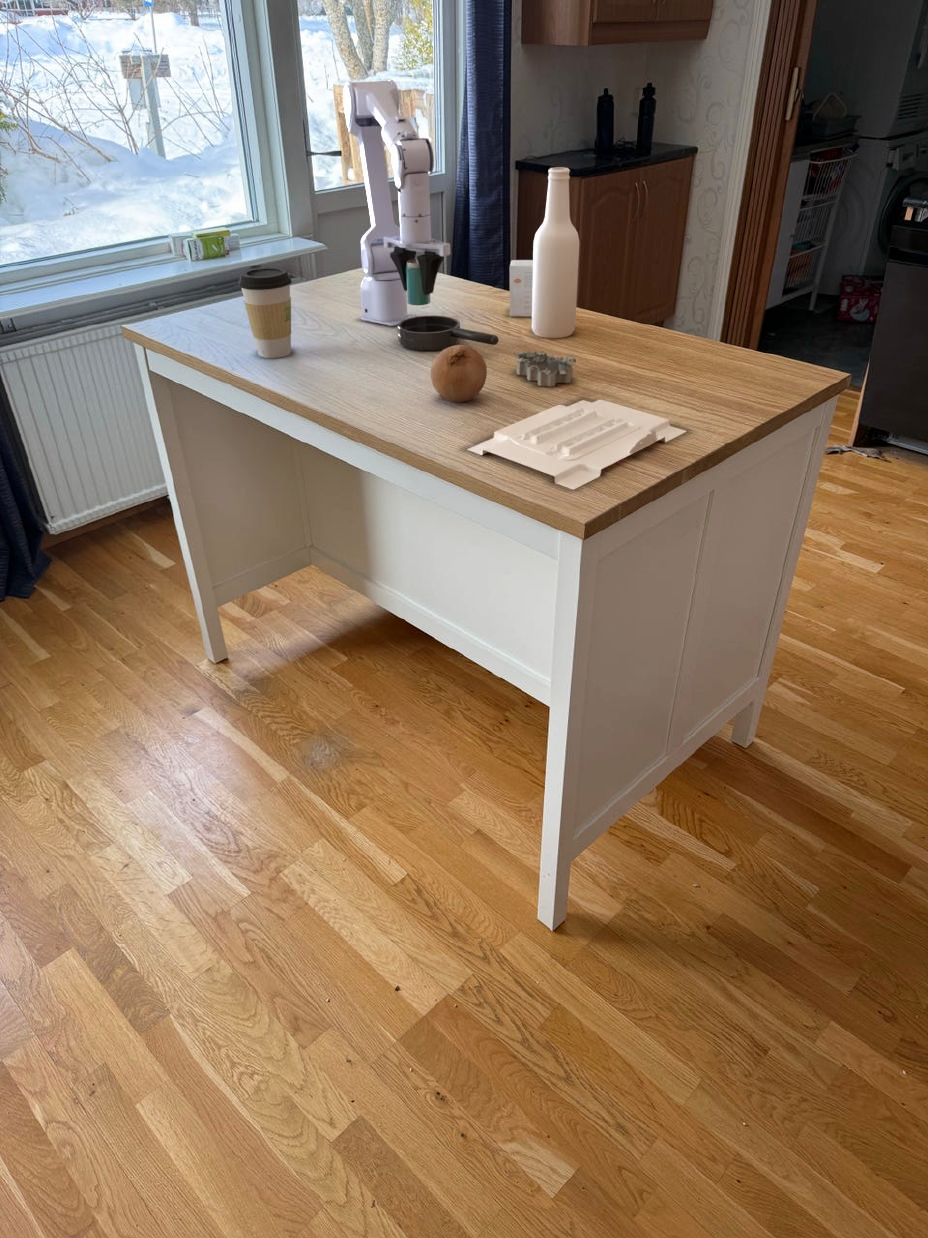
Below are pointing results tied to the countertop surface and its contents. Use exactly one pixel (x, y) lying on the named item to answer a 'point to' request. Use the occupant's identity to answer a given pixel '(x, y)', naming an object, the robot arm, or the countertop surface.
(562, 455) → the tray
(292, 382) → the countertop surface
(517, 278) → the small box
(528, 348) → the countertop surface
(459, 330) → the pan handle
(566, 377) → the egg carton
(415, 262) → the salt shaker
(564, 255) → the alcohol
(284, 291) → the coffee cup
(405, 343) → the pan
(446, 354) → the onion
